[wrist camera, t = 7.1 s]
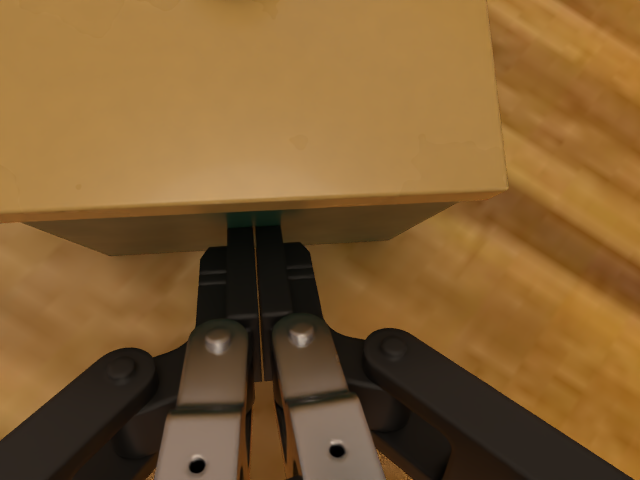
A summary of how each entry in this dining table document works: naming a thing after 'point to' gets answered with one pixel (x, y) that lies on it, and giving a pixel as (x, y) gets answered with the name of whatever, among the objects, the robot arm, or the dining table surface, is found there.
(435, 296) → the dining table surface
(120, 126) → the tea tin
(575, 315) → the dining table surface
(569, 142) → the dining table surface
